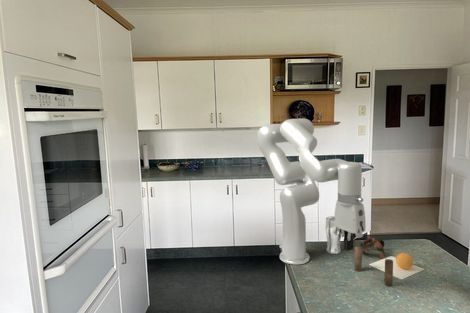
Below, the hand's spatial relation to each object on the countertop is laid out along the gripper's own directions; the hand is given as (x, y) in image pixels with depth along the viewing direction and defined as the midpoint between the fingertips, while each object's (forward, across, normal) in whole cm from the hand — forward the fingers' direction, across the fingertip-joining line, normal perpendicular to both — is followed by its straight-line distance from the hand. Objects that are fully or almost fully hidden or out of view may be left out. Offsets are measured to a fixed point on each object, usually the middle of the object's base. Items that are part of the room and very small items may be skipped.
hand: (348, 249), depth 111 cm
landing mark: (+14, 0, -27) cm, 30 cm away
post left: (+14, +6, -13) cm, 20 cm away
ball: (+11, -2, -29) cm, 31 cm away
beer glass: (+14, +24, -18) cm, 33 cm away
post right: (+14, -7, -13) cm, 20 cm away
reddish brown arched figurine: (+14, +12, -30) cm, 35 cm away
